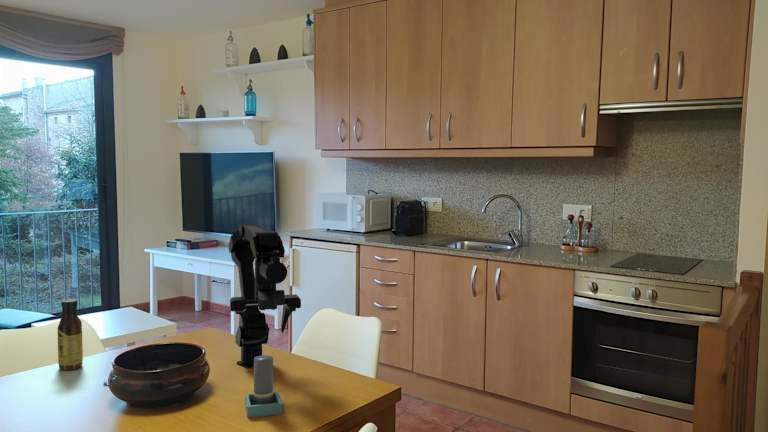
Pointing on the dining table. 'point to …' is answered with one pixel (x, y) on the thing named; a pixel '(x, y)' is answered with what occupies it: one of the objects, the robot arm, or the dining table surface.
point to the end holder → (263, 406)
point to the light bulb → (263, 380)
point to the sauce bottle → (70, 337)
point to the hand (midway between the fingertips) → (265, 333)
